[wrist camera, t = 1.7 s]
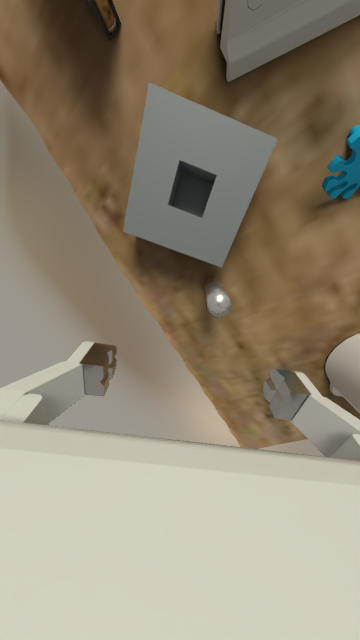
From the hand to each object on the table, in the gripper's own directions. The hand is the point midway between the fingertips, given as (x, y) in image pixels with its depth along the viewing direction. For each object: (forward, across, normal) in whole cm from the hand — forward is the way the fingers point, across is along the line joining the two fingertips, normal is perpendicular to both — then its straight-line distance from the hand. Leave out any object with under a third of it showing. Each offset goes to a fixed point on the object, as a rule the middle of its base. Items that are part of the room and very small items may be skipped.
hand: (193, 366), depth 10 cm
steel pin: (+25, +5, -2) cm, 25 cm away
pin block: (+25, -1, +10) cm, 27 cm away
